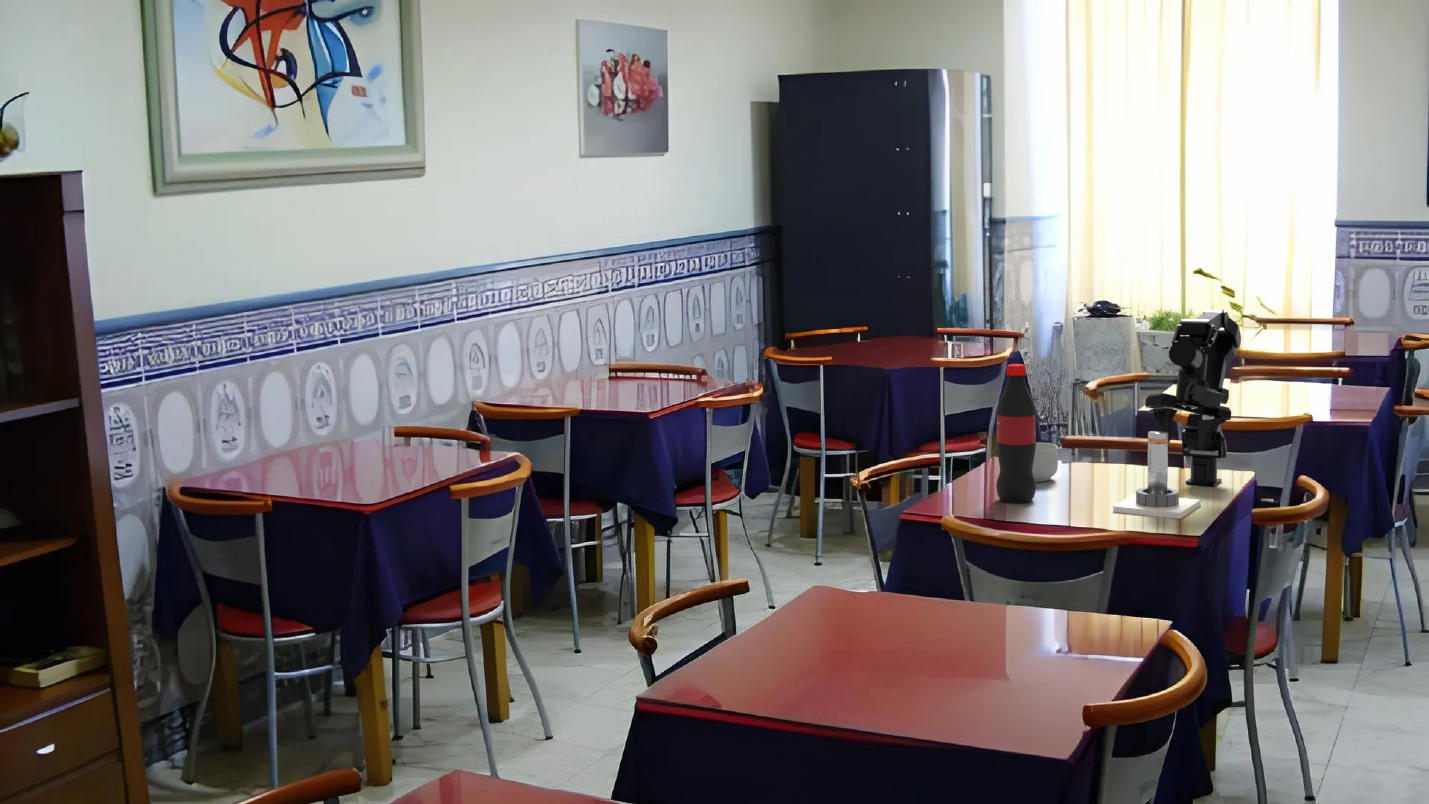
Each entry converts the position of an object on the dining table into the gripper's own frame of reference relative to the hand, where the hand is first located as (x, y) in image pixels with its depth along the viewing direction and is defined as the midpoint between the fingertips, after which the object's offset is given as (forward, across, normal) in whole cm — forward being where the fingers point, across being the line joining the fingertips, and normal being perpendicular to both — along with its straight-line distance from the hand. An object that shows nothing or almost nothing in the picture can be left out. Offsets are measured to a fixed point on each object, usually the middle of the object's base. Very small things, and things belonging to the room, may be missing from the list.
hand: (1184, 447), depth 312 cm
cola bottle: (+16, -29, +18) cm, 38 cm away
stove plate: (+14, -7, -2) cm, 16 cm away
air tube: (+13, -8, -3) cm, 16 cm away
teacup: (+8, -14, +36) cm, 39 cm away
